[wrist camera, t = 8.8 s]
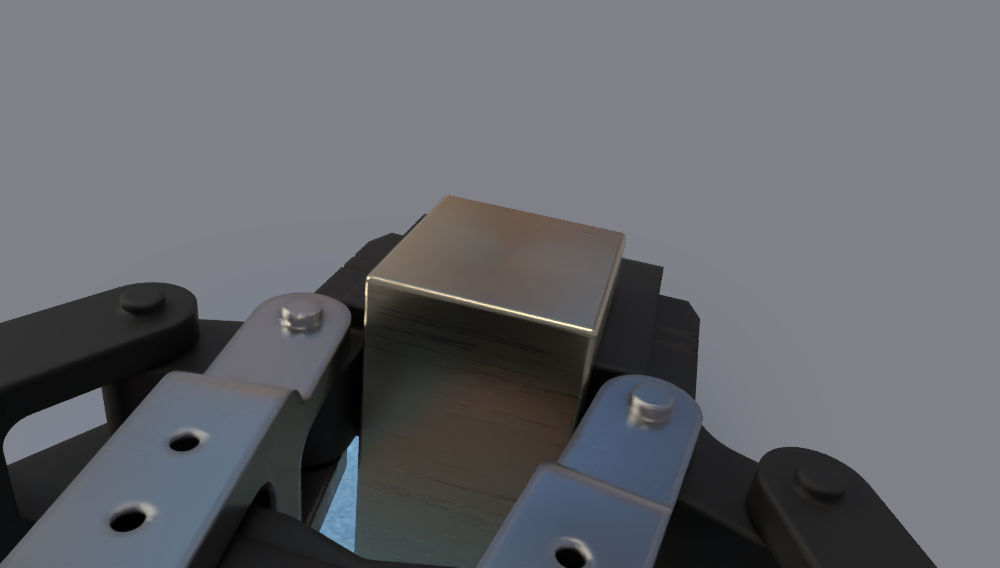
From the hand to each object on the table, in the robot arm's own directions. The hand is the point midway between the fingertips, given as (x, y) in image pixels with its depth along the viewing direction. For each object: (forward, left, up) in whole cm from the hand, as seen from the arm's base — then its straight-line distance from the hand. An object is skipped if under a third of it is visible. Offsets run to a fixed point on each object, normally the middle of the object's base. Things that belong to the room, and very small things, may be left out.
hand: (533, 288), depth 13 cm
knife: (0, -3, -12) cm, 12 cm away
